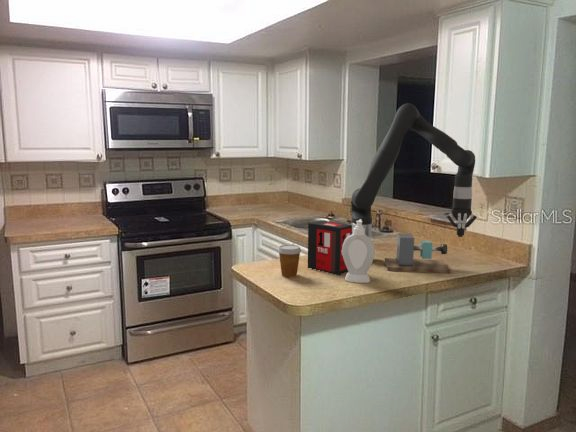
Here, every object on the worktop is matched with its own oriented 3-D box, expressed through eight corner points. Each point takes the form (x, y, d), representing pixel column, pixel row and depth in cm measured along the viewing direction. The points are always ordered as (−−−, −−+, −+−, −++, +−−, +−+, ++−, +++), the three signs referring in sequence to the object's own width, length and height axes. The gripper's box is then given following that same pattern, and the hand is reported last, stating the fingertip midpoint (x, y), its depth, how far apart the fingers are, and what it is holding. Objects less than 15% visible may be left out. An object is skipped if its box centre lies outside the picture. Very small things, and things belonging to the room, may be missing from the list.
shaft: (410, 253, 210) (410, 244, 209) (408, 251, 214) (409, 242, 213) (446, 255, 208) (447, 245, 207) (444, 252, 212) (445, 243, 211)
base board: (387, 270, 206) (387, 267, 206) (384, 261, 222) (384, 257, 222) (449, 273, 203) (449, 269, 203) (442, 263, 219) (442, 260, 219)
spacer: (422, 258, 209) (422, 242, 208) (420, 256, 214) (420, 240, 213) (431, 258, 208) (432, 242, 207) (429, 256, 214) (430, 241, 213)
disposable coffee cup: (281, 279, 193) (281, 250, 191) (275, 272, 202) (275, 244, 200) (303, 277, 195) (304, 248, 193) (296, 271, 204) (297, 243, 202)
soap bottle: (374, 278, 194) (377, 219, 190) (372, 284, 187) (375, 223, 183) (343, 276, 198) (344, 217, 194) (340, 281, 190) (341, 221, 186)
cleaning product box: (307, 268, 209) (308, 223, 206) (319, 264, 216) (320, 220, 213) (339, 275, 199) (340, 228, 195) (350, 270, 205) (352, 225, 202)
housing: (398, 265, 208) (400, 237, 206) (396, 260, 218) (397, 233, 216) (412, 266, 208) (414, 238, 206) (409, 260, 217) (411, 233, 215)
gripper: (476, 196, 208) (473, 235, 211) (444, 195, 210) (442, 234, 213) (480, 198, 201) (478, 238, 204) (448, 198, 202) (446, 238, 205)
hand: (460, 236), depth 208 cm, fingers closed
